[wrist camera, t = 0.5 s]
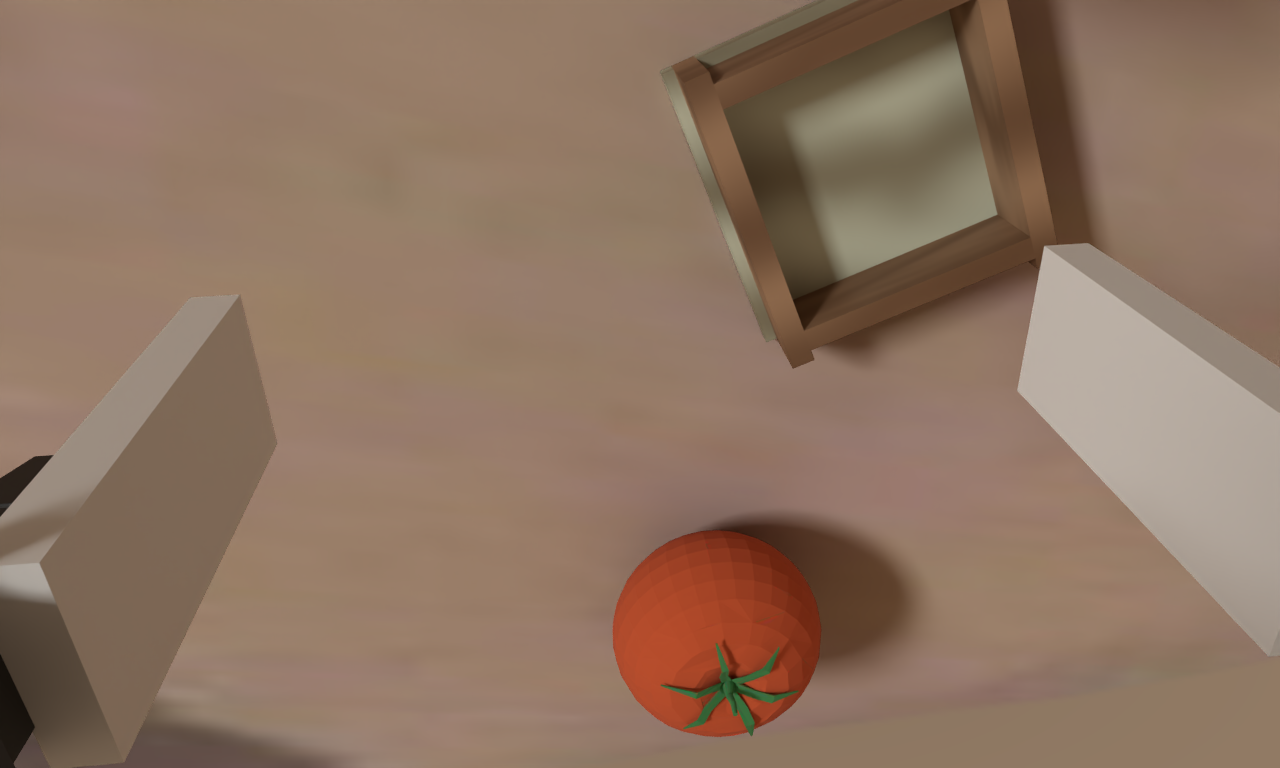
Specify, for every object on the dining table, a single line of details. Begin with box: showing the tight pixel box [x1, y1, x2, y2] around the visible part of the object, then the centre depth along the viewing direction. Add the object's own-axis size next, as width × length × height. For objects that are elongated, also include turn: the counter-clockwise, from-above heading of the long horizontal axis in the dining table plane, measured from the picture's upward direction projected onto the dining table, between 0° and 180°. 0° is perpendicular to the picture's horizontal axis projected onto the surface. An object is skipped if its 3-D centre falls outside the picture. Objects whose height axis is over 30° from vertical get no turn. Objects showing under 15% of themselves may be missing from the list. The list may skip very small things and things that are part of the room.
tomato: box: [613, 530, 821, 737], centre depth 45 cm, size 10×10×10 cm
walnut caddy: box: [660, 0, 1058, 368], centre depth 38 cm, size 13×13×4 cm
